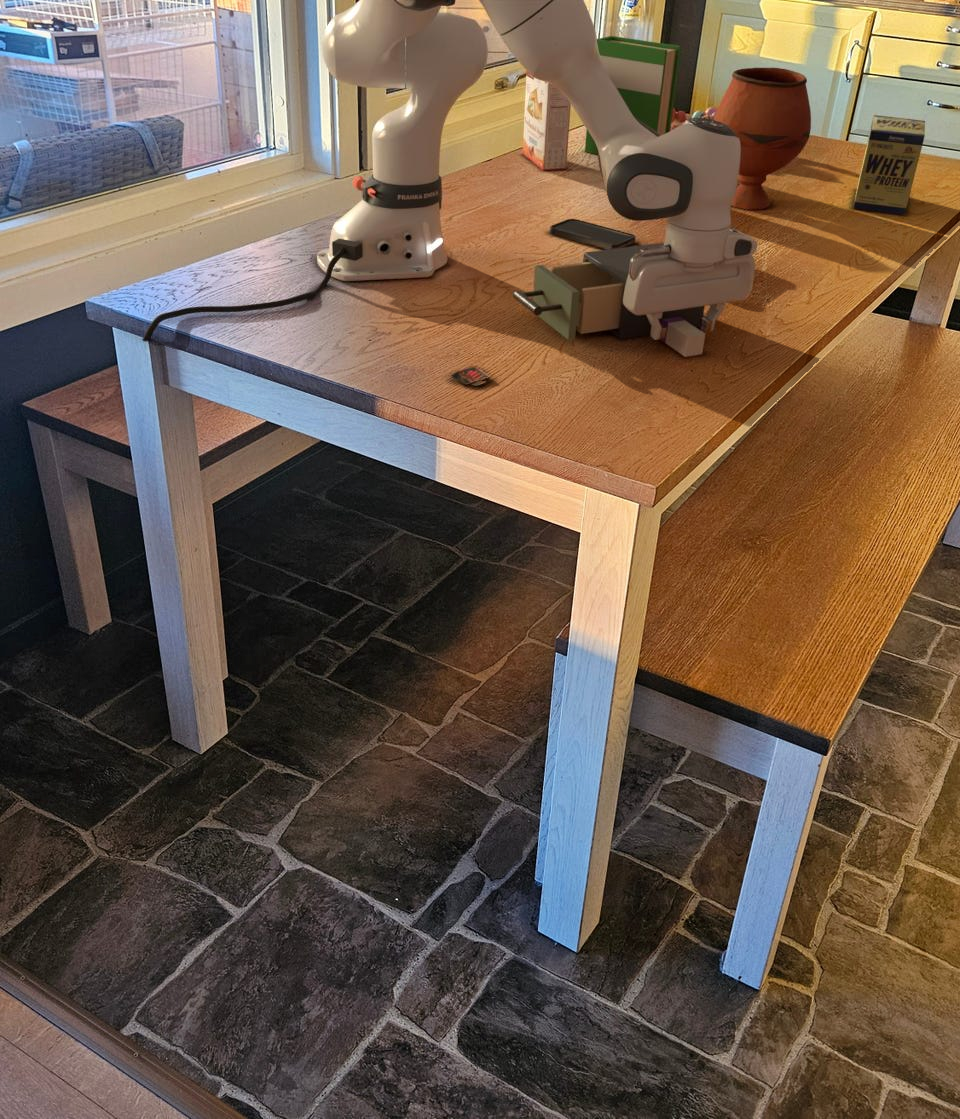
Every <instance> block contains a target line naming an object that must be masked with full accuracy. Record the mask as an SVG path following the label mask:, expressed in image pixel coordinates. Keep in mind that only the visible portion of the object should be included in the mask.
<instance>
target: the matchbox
mask: <svg viewBox="0 0 960 1119" xmlns="http://www.w3.org/2000/svg"><path fill="white" fill-rule="evenodd" d="M450 377H452V378H453V379H454V380H455V381H458V382H459V383H462V384H464V385H468V384H469V385H471V386H476V387H477V386H480V385H484V384H485V383H486V382H487V380H485V379H488V378H490V377H491V375H489V374H487V373H486V372H484V371H483V369H480V368H478V367H475V366H470V367H468V368H465V369H462V370H457V371H455V372H454V373H452V374H451V375H450Z"/></svg>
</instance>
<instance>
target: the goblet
mask: <svg viewBox="0 0 960 1119" xmlns="http://www.w3.org/2000/svg"><path fill="white" fill-rule="evenodd" d="M731 77H732V78H731V81H730V83H729V85H728V87H727V89H726V91H725V93H724V95H723V96H722V98H721V100H720V102H719V104H718V107H717V108H716V109H717V111H716V113H715V116H714V120H715V121H718V122H721V123H723V124H725V125H727V126H729V127H730V128H731V129H732V130H733V131H734V132H735V133H736V134H737V136H738V137H739V140H740V147H741V154H740V168H739V176H738V183H739V185H738V186H737V190H736V194H735V196H734V199H733V201H732V203H731V207H734V208H738V209H742V210H752V211H754V210H764V209H767V208H768V207H769V206H771V200H770V198H769V196H768V194H767V193H766V191H765V189H764V188H763V184H764V183H765V182H766V180H767V176H770V175H771V174H773V173H776V172H777V171H780V170H781V169H783V168H785V167H786V166H788V165H789V164H791V162H792V161H793V160H795V159H796V158H797V157H798V156H799V155H800V154H801V152H802V151H803V150H804V149H805V147H806V146H807V143H808V141H809V140H810V139H809V138H810V135H811V129H812V112H811V105H810V99H809V94H808V88H807V82H808V79H807V77H806V76H805V75H804V74H802V73H800V72H797V71H794V70H790V69H786V68H780V67H749V68H748V67H747V68H745V67H744V68H739V69H736V70H734V71H733V72H732V74H731Z"/></svg>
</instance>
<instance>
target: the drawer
mask: <svg viewBox="0 0 960 1119" xmlns="http://www.w3.org/2000/svg"><path fill="white" fill-rule="evenodd" d="M533 276H534V279H533V291H525V292H524V291H523V292H522V291H521V290H519V289H517V290H515V291H514V292H513V294H512V297H513V298H514V300H516V301H517V302H518V303H519V304H521V305H522V306H523V307H524V308H526V309H527V310H528V311H530V312H531V313H532V314H533V315H534V316H537V317H539V318H540V319H541V320H543V321H544V322H545V323H546V324H547V325H549V326H550V327H551V328H553V329H554V330H555V331H556V332H558V333H559V334H560V335H561V336H562V337H564V338H565V339H566V340H568V341H570V340H575V339H576V332H578V333H579V334H580V335H584V334H589V333H596V332H602V331H609V330H610V329H616V328H619V323H620V314H621V305H622V296H623V287H624V284H623V283H621V282H620V281H618V280H617V279H615V278H614V277H612V276H611V275H609V274H608V273H606V272H605V271H603V270H602V269H600V268H599V267H597V266H596V265H594V264H593V263H591V262H584V263H583V262H577V263H570V264H562V265H561V264H560V265H553V266H551V269H549V268H547V267H546V266H544V265H543V264H537V265H534V275H533ZM530 297H532V298H530Z"/></svg>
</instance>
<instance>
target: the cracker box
mask: <svg viewBox="0 0 960 1119" xmlns="http://www.w3.org/2000/svg"><path fill="white" fill-rule="evenodd" d="M571 107H572V105H571V103H570V102H569V100H568V99H567V98H566V97H565V95H564V94H563V93H562V92H561V91H560V90H559V89H557V88H556V87H555V86H553V85H551V84H550V83H547V82H545V81H541V80H538V79H536V78H534V77H533V76H532V75H531V74H530V73H529V72H528V71H527V70H526V76H525V99H524V116H523V117H524V118H523V119H524V120H523V138H522V155H524V156H525V157H526V158H528V159H529V160H530V161H531V162H533V164H535V165H536V166H537V167H539V168H540V169H541V170H542V171H555V170H556V171H557V170H567V161H568V149H569V134H570V123H571V122H570V121H571V120H570V119H571Z"/></svg>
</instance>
